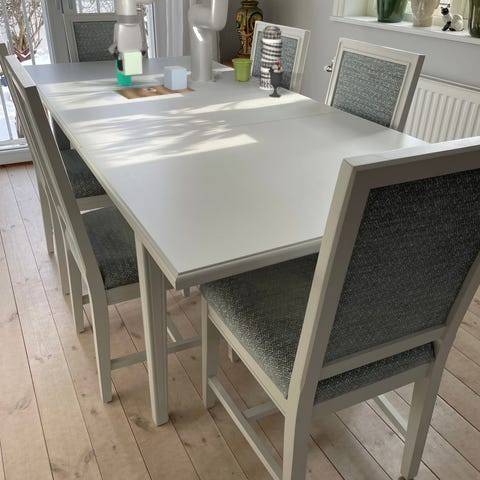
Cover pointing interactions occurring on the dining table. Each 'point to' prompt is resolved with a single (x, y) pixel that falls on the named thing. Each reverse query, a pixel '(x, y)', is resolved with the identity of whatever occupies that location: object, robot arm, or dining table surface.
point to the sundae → (276, 77)
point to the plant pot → (242, 69)
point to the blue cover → (175, 77)
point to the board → (149, 91)
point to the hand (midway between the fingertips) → (130, 69)
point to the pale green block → (131, 63)
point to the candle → (122, 78)
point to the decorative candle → (269, 54)
